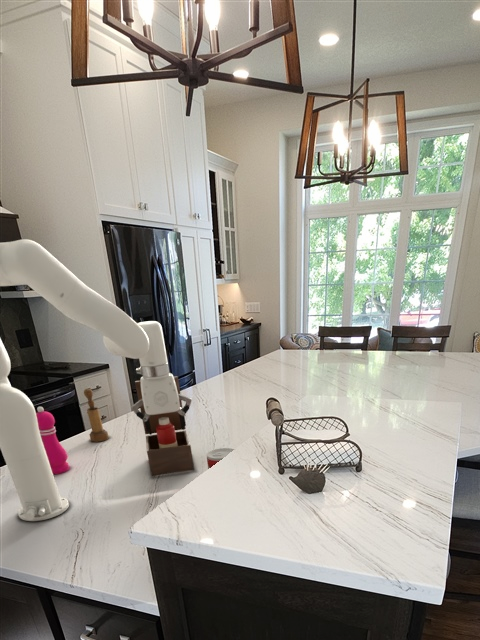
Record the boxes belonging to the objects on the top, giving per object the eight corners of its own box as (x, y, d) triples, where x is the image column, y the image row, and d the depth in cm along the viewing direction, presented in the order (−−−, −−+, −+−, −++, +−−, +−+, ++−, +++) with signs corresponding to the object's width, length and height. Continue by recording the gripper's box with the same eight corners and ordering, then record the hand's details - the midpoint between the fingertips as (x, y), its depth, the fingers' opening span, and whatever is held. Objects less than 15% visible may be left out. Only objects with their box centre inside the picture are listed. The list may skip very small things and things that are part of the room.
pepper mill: (63, 474, 146) (43, 409, 136) (42, 474, 148) (21, 410, 137) (75, 466, 152) (57, 403, 142) (55, 465, 154) (36, 403, 143)
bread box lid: (177, 376, 140) (176, 373, 144) (134, 381, 138) (134, 377, 142) (185, 429, 149) (184, 424, 153) (145, 434, 147) (144, 429, 151)
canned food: (207, 490, 129) (202, 451, 124) (235, 483, 132) (231, 445, 126) (216, 500, 123) (211, 460, 117) (245, 493, 126) (241, 454, 120)
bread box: (194, 471, 141) (190, 445, 137) (152, 478, 139) (146, 451, 135) (189, 455, 154) (185, 430, 150) (150, 460, 152) (145, 435, 148)
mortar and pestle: (112, 437, 176) (100, 387, 166) (99, 442, 171) (86, 391, 162) (100, 435, 179) (88, 386, 169) (87, 440, 174) (73, 390, 165)
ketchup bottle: (180, 465, 144) (173, 419, 137) (162, 468, 144) (154, 422, 136) (179, 459, 149) (172, 415, 142) (162, 461, 148) (153, 417, 141)
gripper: (123, 377, 127) (137, 439, 137) (187, 369, 130) (196, 430, 139) (124, 372, 134) (137, 431, 143) (185, 364, 136) (194, 423, 145)
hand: (166, 431), depth 141 cm, fingers open, 9 cm apart
